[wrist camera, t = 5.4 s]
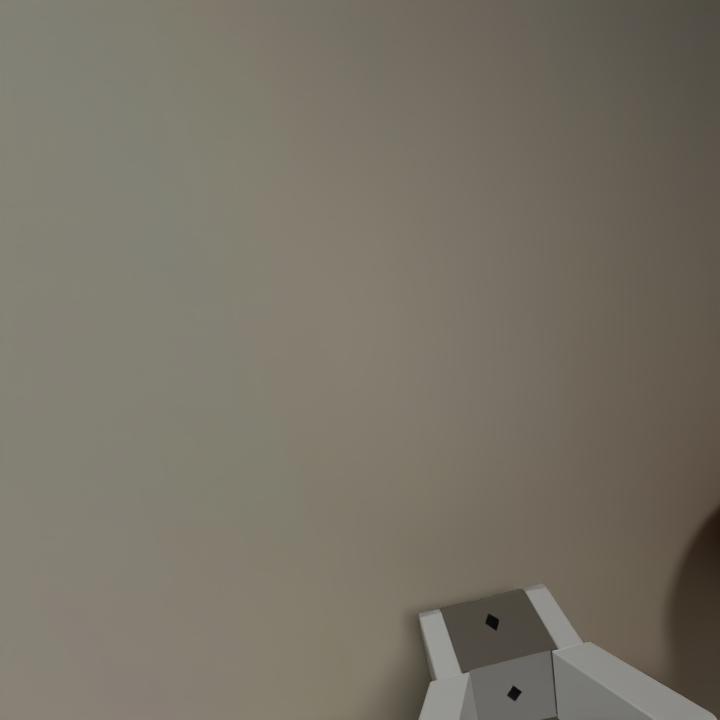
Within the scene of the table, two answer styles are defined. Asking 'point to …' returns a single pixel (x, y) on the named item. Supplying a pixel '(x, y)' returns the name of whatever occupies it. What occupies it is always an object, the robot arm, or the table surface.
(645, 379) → the table surface
